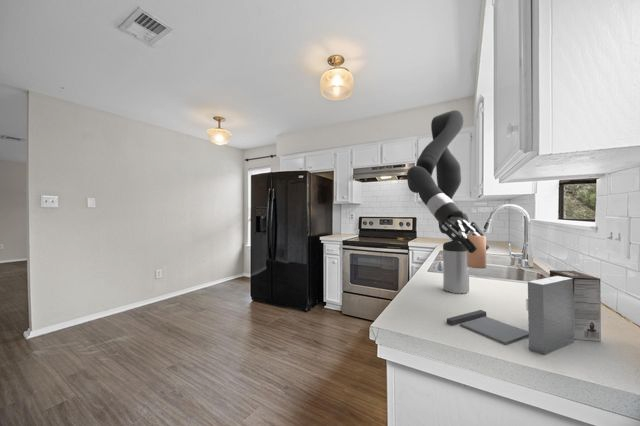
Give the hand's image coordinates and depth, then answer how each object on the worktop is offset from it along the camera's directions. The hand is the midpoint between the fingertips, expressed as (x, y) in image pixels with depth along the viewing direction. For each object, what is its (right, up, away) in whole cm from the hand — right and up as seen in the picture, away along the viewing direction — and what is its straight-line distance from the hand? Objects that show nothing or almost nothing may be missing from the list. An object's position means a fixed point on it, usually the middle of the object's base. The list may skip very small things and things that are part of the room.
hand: (479, 250), depth 72 cm
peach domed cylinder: (0, -5, +1) cm, 5 cm away
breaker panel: (+11, -22, -11) cm, 27 cm away
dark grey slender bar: (-1, -22, +5) cm, 23 cm away
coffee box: (+23, -22, -4) cm, 32 cm away
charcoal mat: (+2, -22, -3) cm, 22 cm away
